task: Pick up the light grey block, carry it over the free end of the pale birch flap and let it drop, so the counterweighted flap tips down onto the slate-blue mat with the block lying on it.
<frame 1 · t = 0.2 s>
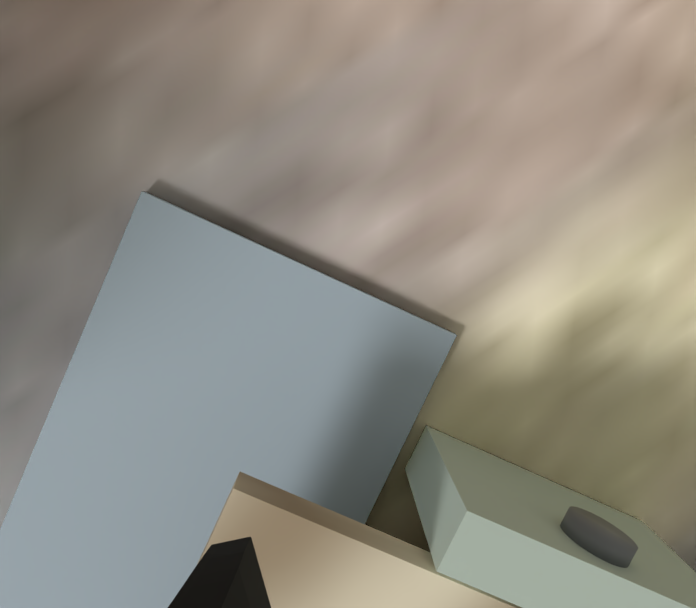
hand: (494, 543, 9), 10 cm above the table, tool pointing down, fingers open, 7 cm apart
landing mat: (165, 567, 20), on the table
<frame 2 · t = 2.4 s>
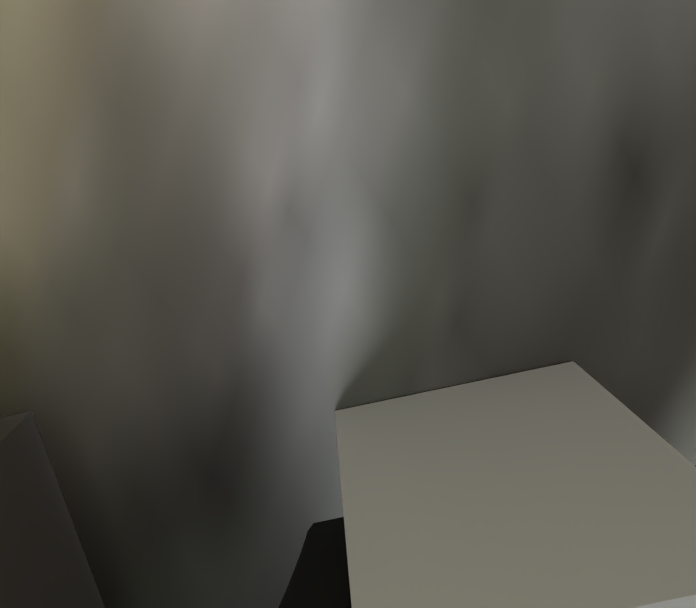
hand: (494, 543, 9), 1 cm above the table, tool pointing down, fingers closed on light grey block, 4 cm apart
light grey block: (471, 490, 11), on the table, touching gripper
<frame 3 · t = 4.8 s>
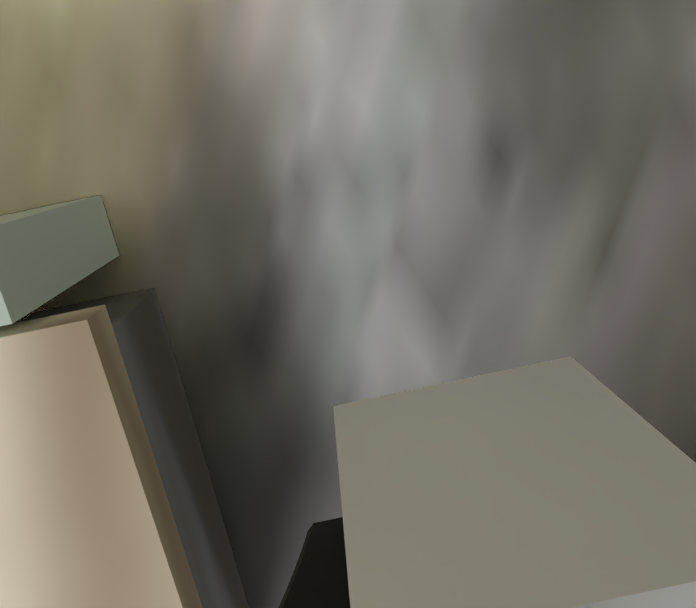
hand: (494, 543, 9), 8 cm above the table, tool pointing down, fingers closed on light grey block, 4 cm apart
light grey block: (469, 485, 11), point 7 cm above the table, touching gripper
flap stand: (48, 493, 18), on the table
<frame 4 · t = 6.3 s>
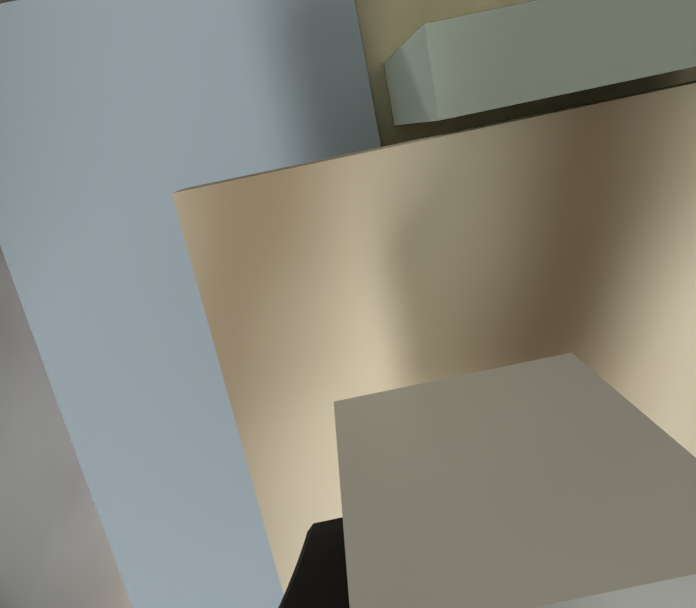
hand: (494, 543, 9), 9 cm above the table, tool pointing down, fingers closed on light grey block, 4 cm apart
light grey block: (469, 481, 11), point 8 cm above the table, touching gripper
flap: (537, 368, 15), point 3 cm above the table, hinge at 0.0°
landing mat: (243, 381, 18), on the table
flap stand: (563, 313, 18), on the table
when the fingers open (9 cm above the table, at t = 7.3 s): light grey block drops 2 cm, resting on flap.
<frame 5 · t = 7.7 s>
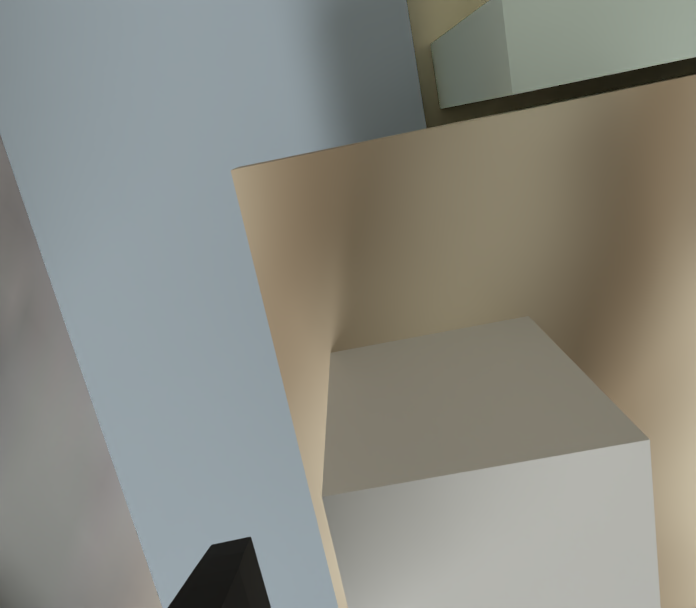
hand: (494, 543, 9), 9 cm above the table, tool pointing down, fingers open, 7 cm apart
light grey block: (443, 423, 13), point 5 cm above the table, touching flap
flap: (592, 356, 15), point 3 cm above the table, hinge at 3.1°, touching light grey block
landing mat: (279, 372, 18), on the table
flap stand: (608, 304, 18), on the table
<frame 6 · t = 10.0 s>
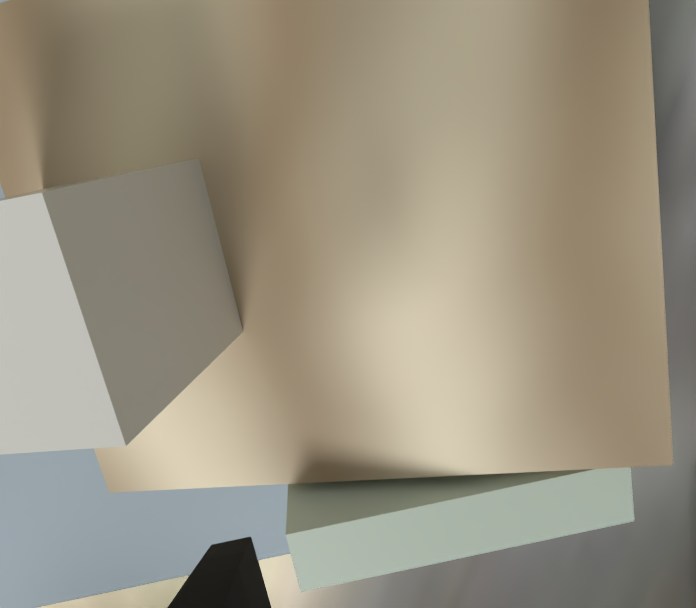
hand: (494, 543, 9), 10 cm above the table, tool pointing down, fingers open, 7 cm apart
light grey block: (143, 260, 14), point 4 cm above the table, tilted 16°, touching flap
flap: (328, 221, 15), point 3 cm above the table, hinge at 16.2°, touching light grey block
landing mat: (50, 264, 18), on the table
flap stand: (378, 196, 18), on the table
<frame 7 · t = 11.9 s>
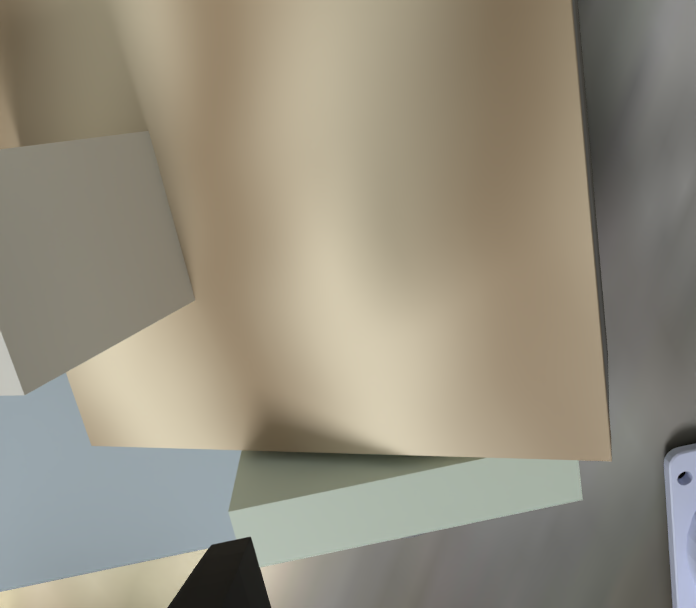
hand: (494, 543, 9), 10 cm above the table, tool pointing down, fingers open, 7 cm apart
light grey block: (107, 228, 15), point 3 cm above the table, tilted 25°, touching flap
flap: (287, 195, 15), point 3 cm above the table, hinge at 25.1°, touching light grey block
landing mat: (6, 245, 18), on the table
flap stand: (335, 177, 18), on the table
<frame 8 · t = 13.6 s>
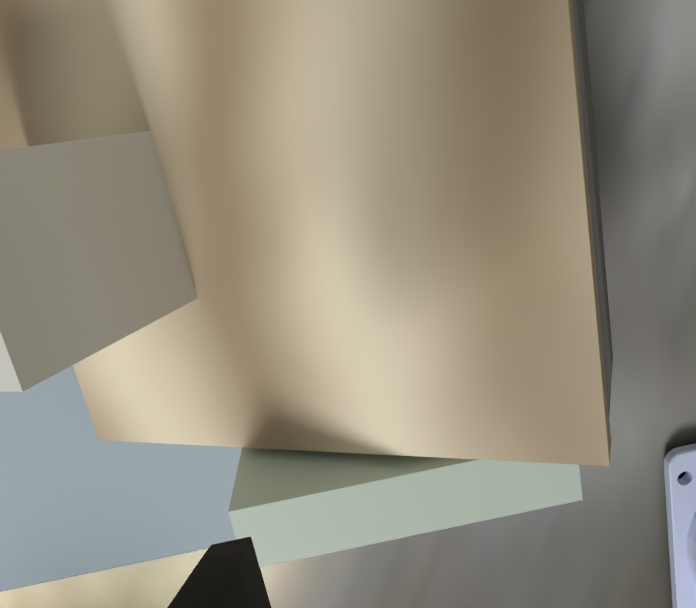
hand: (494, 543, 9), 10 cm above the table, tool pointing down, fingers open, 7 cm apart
light grey block: (112, 227, 15), point 3 cm above the table, tilted 27°, touching flap
flap: (290, 194, 15), point 3 cm above the table, hinge at 27.1°, touching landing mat, light grey block
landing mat: (6, 245, 18), on the table
flap stand: (335, 177, 18), on the table
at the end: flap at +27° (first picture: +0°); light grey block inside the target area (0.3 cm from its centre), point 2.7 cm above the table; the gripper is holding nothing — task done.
